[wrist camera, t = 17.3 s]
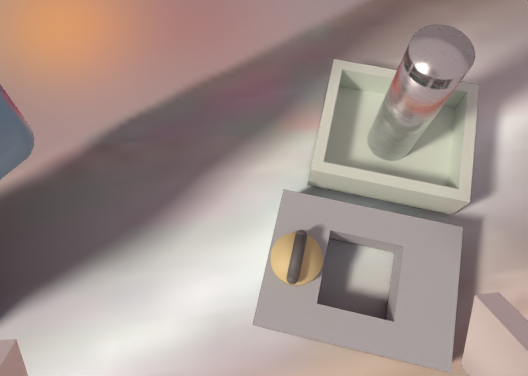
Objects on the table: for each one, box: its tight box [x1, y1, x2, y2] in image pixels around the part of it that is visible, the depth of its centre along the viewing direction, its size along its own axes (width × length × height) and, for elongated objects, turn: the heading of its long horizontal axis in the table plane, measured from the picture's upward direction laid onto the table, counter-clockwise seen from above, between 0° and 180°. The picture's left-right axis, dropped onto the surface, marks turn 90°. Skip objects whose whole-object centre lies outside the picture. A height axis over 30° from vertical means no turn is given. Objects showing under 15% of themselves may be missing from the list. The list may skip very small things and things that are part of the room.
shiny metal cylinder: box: [367, 25, 475, 161], centre depth 36 cm, size 4×4×14 cm
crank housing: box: [253, 189, 463, 373], centre depth 37 cm, size 16×12×5 cm
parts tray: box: [307, 59, 479, 215], centre depth 41 cm, size 14×12×4 cm
